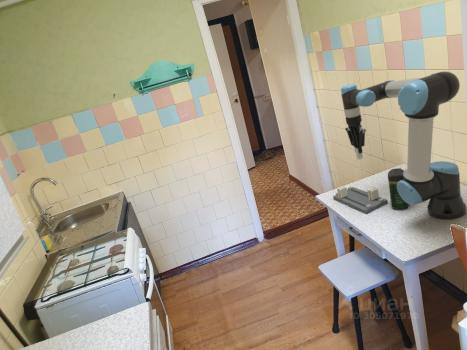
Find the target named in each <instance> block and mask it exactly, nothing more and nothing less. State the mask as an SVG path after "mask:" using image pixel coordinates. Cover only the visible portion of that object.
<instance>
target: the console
mask: <svg viewBox="0 0 467 350" xmlns="http://www.w3.org/2000/svg"><path fill="white" fill-rule="evenodd" d="M347 194H348V196H345V197H343V198H340V197H338V192H336V193H335V195H333V196H332V198H333V200H334V201H336V202H338V203H340V204H343V205H345V206H347V207H350V208H352V209H354V210H357V211H358V212H360V213H362V214H364V215H368V214H369V213H372V212H373V211H375V210H377V209H380V208H382V207H385V206H387V204H389V203H388V202H389V200H388V199H387V198H383V197H381V196H379V198H377V199H375V200H371V199H369V197H368V191H365V190H362V189H359V188H357V187H354V186H353V187H352V186H348V187H347Z"/></svg>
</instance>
